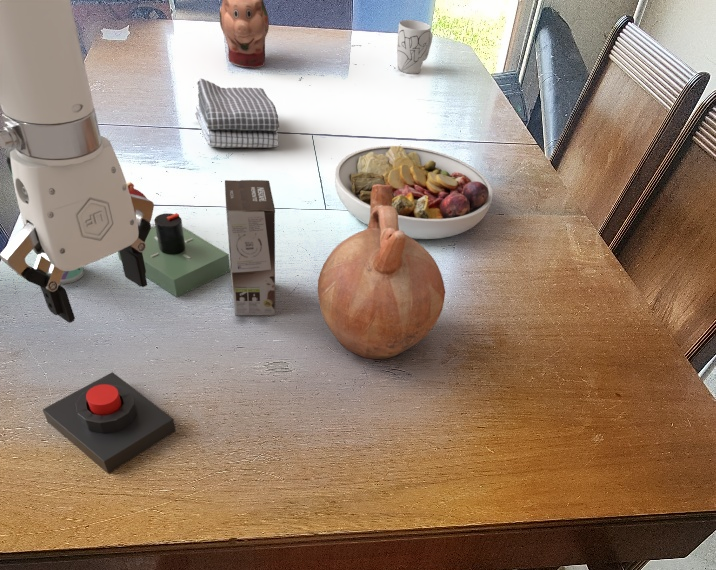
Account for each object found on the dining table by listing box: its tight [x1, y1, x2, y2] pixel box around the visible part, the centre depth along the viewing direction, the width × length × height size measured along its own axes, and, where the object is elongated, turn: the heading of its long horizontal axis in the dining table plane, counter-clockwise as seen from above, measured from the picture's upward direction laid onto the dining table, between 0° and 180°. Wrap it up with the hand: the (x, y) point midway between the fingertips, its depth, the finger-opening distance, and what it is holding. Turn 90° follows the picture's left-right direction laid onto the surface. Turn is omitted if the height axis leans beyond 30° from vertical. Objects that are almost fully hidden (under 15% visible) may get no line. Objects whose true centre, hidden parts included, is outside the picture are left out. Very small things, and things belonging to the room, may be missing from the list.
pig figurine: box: [219, 0, 270, 68], centre depth 152 cm, size 20×12×14 cm, turn 10°
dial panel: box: [117, 225, 231, 298], centre depth 96 cm, size 14×11×3 cm
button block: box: [42, 371, 177, 475], centre depth 74 cm, size 12×10×4 cm
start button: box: [86, 384, 121, 416], centre depth 72 cm, size 4×4×2 cm
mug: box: [396, 19, 433, 75], centre depth 163 cm, size 11×8×10 cm
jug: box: [317, 184, 446, 360], centre depth 84 cm, size 18×18×20 cm
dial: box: [154, 212, 185, 254], centre depth 93 cm, size 4×4×5 cm
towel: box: [195, 78, 280, 149], centre depth 127 cm, size 15×18×8 cm
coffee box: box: [224, 179, 276, 316], centre depth 88 cm, size 9×6×16 cm
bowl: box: [334, 145, 493, 240], centre depth 115 cm, size 30×30×8 cm
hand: (101, 298), depth 68 cm, fingers open, 9 cm apart
